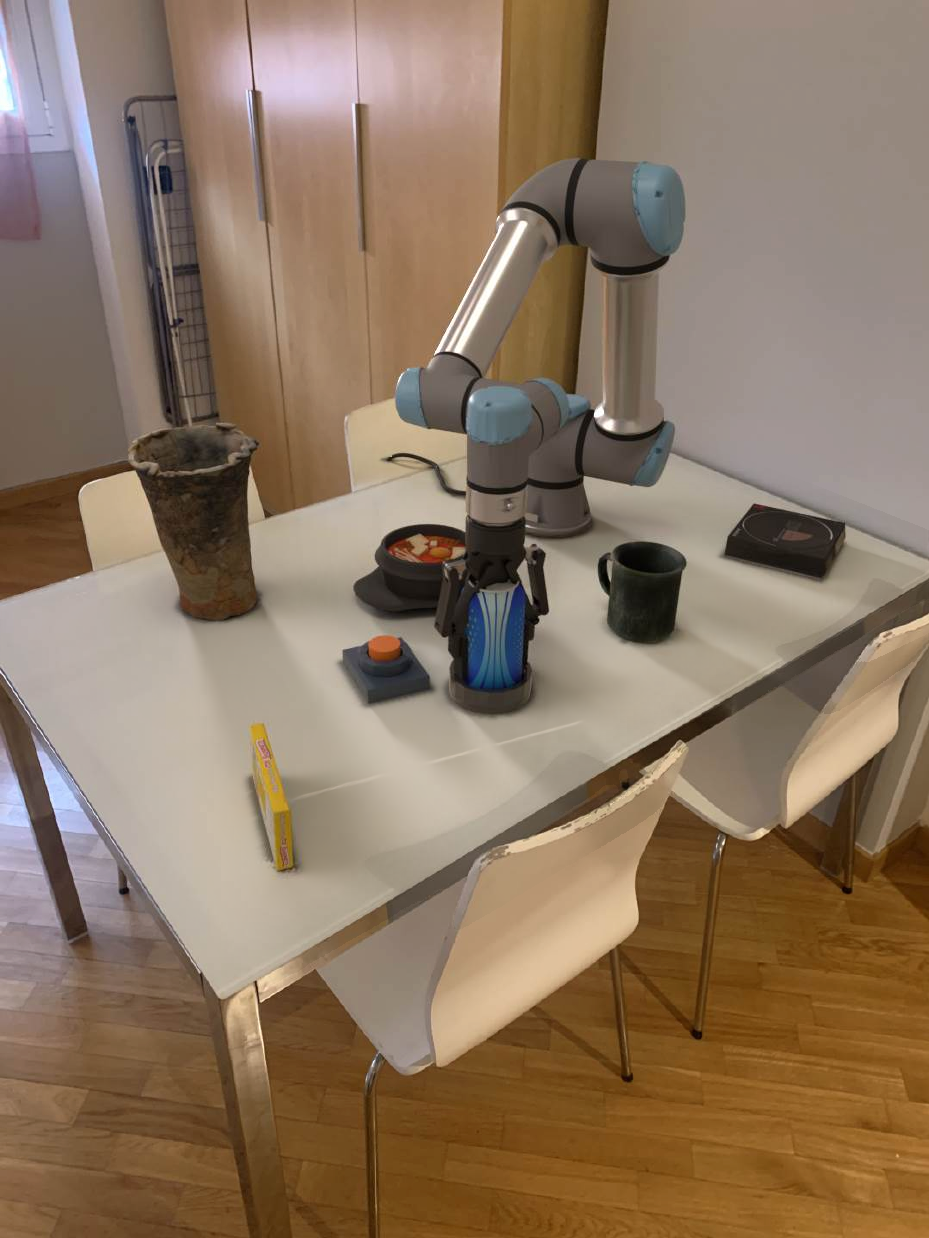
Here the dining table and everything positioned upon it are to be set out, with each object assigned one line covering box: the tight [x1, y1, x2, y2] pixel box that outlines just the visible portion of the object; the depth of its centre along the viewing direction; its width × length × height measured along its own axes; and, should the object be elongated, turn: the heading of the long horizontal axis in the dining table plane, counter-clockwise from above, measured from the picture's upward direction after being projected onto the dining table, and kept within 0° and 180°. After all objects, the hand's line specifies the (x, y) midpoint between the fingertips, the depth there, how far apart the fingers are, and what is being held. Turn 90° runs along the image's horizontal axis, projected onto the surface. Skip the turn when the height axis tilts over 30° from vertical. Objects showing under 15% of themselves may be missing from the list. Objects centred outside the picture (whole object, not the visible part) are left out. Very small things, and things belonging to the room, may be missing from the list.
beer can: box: [461, 579, 526, 690], centre depth 130 cm, size 8×8×16 cm
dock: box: [448, 659, 533, 715], centre depth 134 cm, size 11×11×4 cm
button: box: [368, 634, 401, 662], centre depth 135 cm, size 4×4×2 cm
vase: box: [127, 422, 260, 621], centre depth 148 cm, size 18×18×27 cm
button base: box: [341, 636, 431, 704], centre depth 136 cm, size 11×9×4 cm
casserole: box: [352, 523, 469, 612], centre depth 157 cm, size 25×19×8 cm
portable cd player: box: [723, 502, 847, 581], centre depth 172 cm, size 16×17×4 cm
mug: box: [597, 540, 688, 644], centre depth 148 cm, size 11×15×12 cm
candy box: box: [249, 722, 294, 871], centre depth 109 cm, size 16×2×8 cm, turn 20°
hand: (490, 667), depth 133 cm, fingers closed on beer can, 8 cm apart
